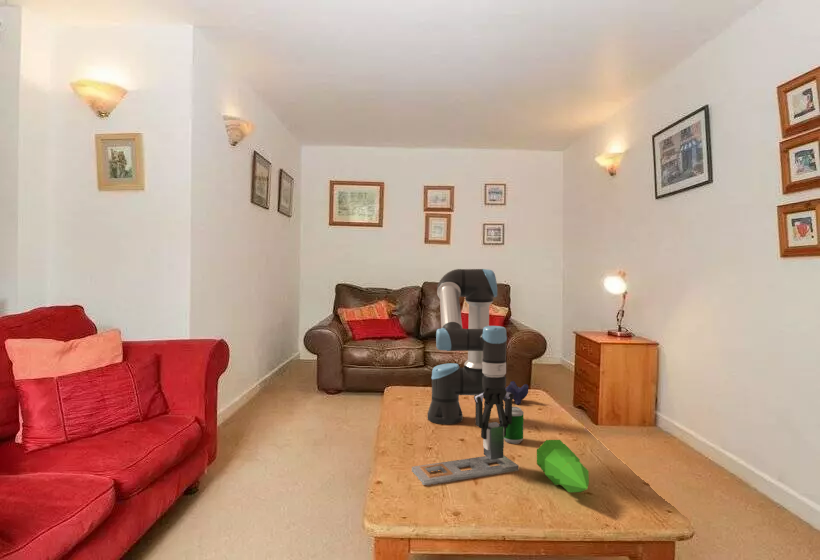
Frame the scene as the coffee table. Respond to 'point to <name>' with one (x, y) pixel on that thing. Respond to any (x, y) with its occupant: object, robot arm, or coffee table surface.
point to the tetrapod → (517, 392)
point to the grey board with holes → (455, 474)
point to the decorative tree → (562, 466)
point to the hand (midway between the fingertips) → (493, 447)
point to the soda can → (515, 427)
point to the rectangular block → (495, 441)
